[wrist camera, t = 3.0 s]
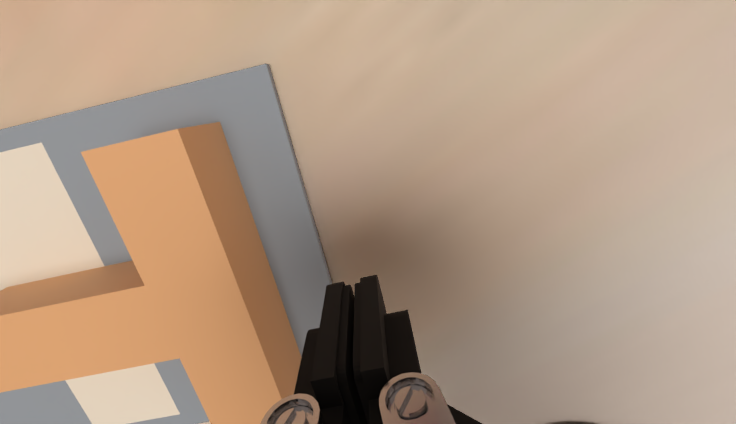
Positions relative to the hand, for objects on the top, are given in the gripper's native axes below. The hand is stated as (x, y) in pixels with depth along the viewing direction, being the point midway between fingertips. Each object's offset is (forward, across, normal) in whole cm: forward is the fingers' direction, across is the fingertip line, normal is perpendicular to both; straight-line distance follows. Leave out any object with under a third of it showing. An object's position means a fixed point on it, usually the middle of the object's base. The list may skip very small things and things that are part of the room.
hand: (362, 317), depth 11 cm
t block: (+8, +13, +1) cm, 15 cm away
